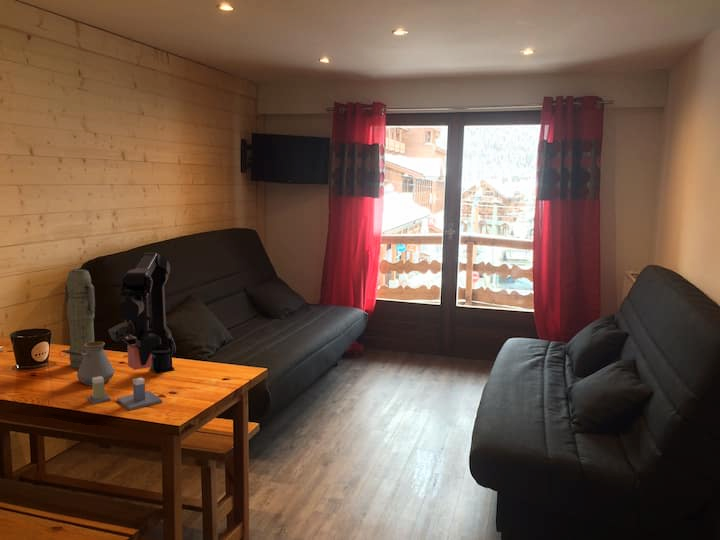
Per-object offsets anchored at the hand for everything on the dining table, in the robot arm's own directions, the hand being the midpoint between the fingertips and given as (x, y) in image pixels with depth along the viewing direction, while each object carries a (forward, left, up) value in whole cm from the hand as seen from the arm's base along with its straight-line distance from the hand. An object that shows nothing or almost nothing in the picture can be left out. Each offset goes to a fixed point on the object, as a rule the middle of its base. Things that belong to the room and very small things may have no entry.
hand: (139, 363), depth 179 cm
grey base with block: (+10, -8, -12) cm, 17 cm away
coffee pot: (+9, -23, -12) cm, 27 cm away
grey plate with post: (+1, +1, -12) cm, 12 cm away
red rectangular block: (0, 0, -1) cm, 1 cm away
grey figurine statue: (+3, -46, -12) cm, 47 cm away
